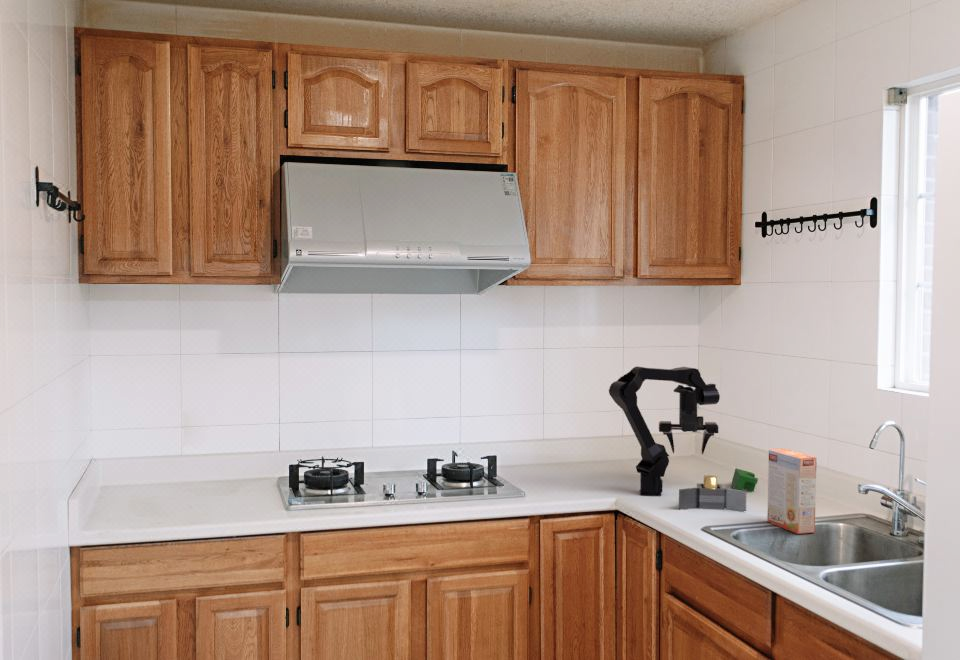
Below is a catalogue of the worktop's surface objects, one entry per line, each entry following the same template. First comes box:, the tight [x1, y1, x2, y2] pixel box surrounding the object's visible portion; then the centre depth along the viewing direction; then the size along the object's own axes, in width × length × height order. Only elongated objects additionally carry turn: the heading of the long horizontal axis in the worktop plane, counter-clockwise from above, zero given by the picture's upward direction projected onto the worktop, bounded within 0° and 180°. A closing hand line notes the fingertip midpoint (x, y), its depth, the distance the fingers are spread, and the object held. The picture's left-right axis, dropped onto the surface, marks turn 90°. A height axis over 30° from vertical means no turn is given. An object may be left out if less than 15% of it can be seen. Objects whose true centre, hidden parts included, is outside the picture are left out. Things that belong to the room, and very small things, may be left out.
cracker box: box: [766, 448, 817, 535], centre depth 248 cm, size 14×6×21 cm, turn 17°
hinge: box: [678, 482, 748, 512], centre depth 271 cm, size 20×10×6 cm, turn 83°
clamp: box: [731, 467, 759, 492], centre depth 295 cm, size 12×6×9 cm, turn 165°
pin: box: [703, 474, 718, 489], centre depth 272 cm, size 4×4×9 cm
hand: (687, 453), depth 293 cm, fingers open, 9 cm apart
